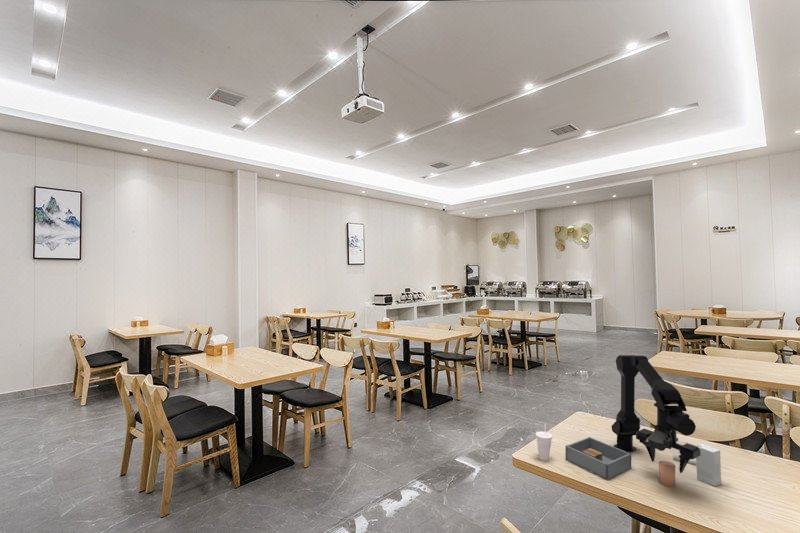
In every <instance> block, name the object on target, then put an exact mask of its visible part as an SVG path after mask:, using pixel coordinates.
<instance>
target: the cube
mask: <svg viewBox="0 0 800 533" xmlns="http://www.w3.org/2000/svg"><path fill="white" fill-rule="evenodd" d="M582 453H584V454H587V455H589V456H591V457H593V458H596V459H598V460H600V461H602V453H601V452H598V451H596V450H594V449H591V448H589V449H586V450H584V451H582Z"/></svg>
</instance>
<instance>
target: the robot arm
mask: <svg viewBox="0 0 800 533" xmlns="http://www.w3.org/2000/svg"><path fill="white" fill-rule="evenodd" d="M615 364H616V370H617V371H618V373H619V375H620V410H619V412H618V413H617V414H616V416H615V417H616V418H615V421H614V422H613V424H612V425H611V427H610V428H611V431H612V433H614V434H615V435H616V443H615V444H614V445H612V446H613V447H616V448H618V449H620V450H623V451H625V452H628V453H631V452H634V451H635V450H637V446H636V447H635V446H634V436H635V439H636V440H638V441H639V443H641V444H643V445H644V446H645V448H646V451H647V454H648V456H649V458H650V460H651V462H655V459H656V450H658V451H660V452H664V451H665V450H666V449H669V450H671V449H672V448H673V449H674V448H675V449H677V450H679V453H680V454H681V455H679V458H680V461H679V467H678V469H679V473H680V474H683V472H684V471H685V469H686V467H687V465H688V461H689V460H690V459H695V458H697V457H698V456H700V449H699V448H698V447H697V446H694V445H695V444H694V445H691V444H688V443H686V444H684V445H680V444H677V441H679V437H677V432H678V433H680V434H681V435H683V436H688V437H689V436H691V435H692V434H694V433H695V432H696V427H697V426H696V424H695V421H694V420H693V419H692V418H690V414H688V413H686V412H687V411H688V410H687V407H686V403H685V402H684V400H683V397H682V396H681V393H680V391H679V389H677V388H676V387H675V386H674V385H673V384H671V383H670V382H667V381H666V380H664V379H663V378H662V376H661V375H660V373H659V372H658V371H657V370H656V369H655V368H654V367H653V365H652V364H651V363H650V362H649V359H648V357H647V356H646V355H634V354H619V355H618V356H617V357H616V359H615ZM639 373H640V374H641V376H642V377H643V379H644V380H645V382H646V383H647V385H649V387H650V388H651V391H650V392H651V396H652V397H653V399H654V401H655V403H654V404H653V406H654V407H656V412H657V413H656V424H655V426H654V429H653V430H649V429H647V428H643V429H641V425H640V424H641V423H640V422H641V419H640V418H639V417H638V415H637V414H636V412H635V404H636V402H635V395H636V394H635V386H636V384H635V382H636V381H635V380H636V379H635V378H636V376H637V375H639Z"/></svg>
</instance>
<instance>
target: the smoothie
mask: <svg viewBox="0 0 800 533" xmlns="http://www.w3.org/2000/svg"><path fill="white" fill-rule="evenodd" d="M535 438H536V444H537V445H536V446H537V450H538V452H537V453H538V458H539V460H541V461H544V462H546V461H547V462H548V461H549V460H550V454H551V447H552V440H553V434H552V433H550V432H548V431H547V423H544V431H536V432H535Z"/></svg>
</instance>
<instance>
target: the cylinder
mask: <svg viewBox="0 0 800 533" xmlns="http://www.w3.org/2000/svg"><path fill="white" fill-rule="evenodd" d="M657 475H658V484H660V485H661V486H663V487H666V488H669V489H670V488H671V489H672V488H675V487H676V464H674V462H670V461H668V460H659V461H658V474H657Z"/></svg>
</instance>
